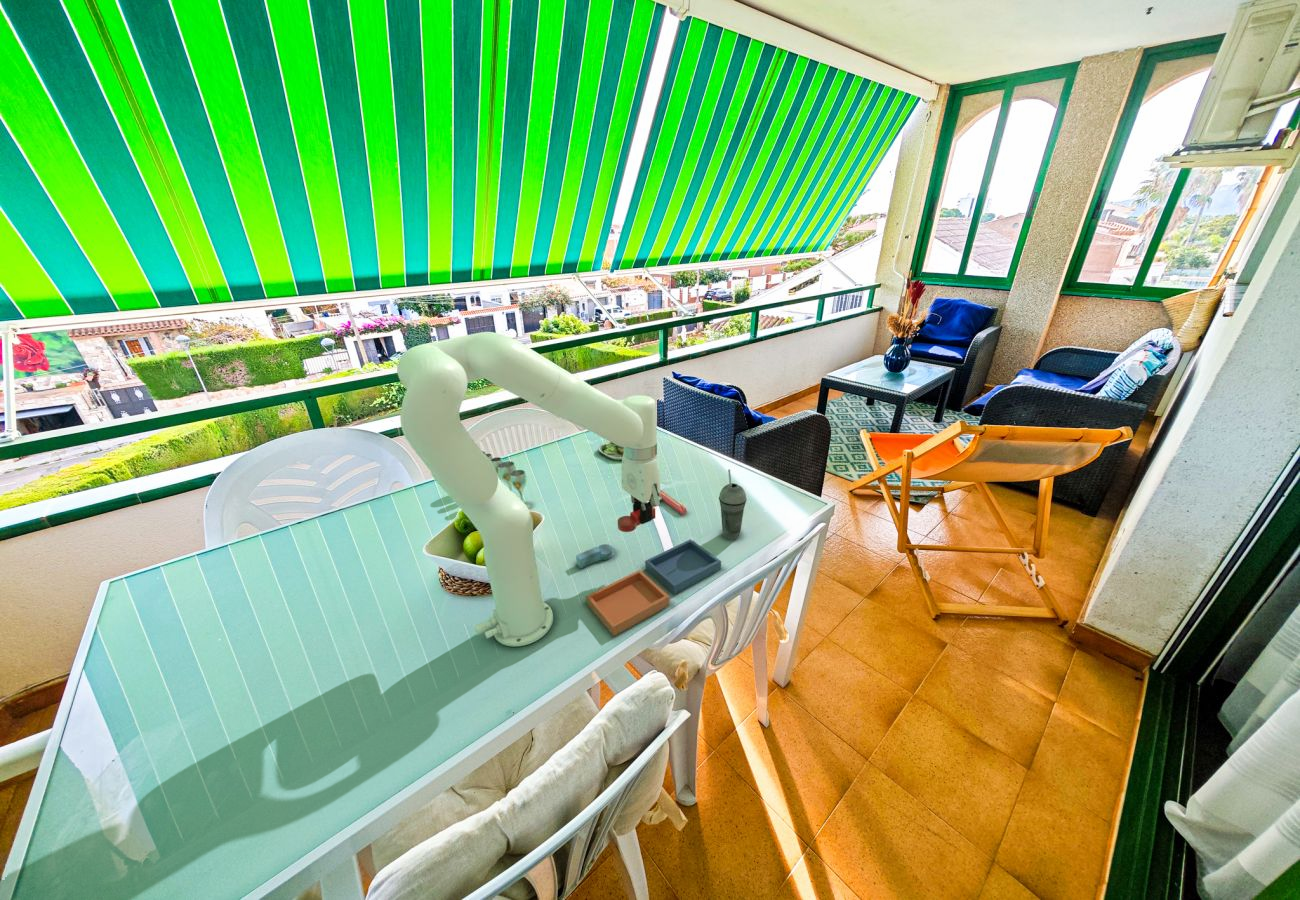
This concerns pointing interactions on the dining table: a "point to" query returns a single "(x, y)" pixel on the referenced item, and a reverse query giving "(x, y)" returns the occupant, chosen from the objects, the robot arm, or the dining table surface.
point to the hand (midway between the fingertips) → (642, 518)
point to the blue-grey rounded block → (594, 555)
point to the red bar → (672, 503)
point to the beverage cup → (732, 509)
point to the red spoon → (631, 521)
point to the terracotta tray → (627, 602)
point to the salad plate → (611, 450)
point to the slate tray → (682, 566)
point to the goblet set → (509, 474)
